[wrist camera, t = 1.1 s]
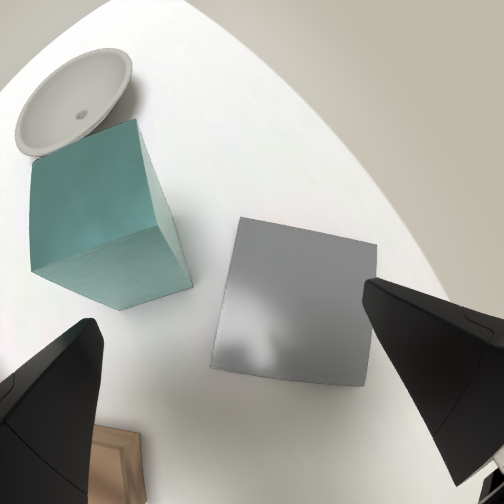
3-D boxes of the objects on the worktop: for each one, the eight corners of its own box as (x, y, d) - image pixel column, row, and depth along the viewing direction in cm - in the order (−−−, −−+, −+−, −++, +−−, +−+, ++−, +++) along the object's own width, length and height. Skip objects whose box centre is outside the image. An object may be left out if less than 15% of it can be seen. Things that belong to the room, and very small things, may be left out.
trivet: (359, 385, 21) (364, 386, 20) (210, 366, 21) (210, 367, 20) (372, 248, 25) (377, 244, 24) (239, 221, 25) (240, 216, 24)
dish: (121, 175, 26) (104, 144, 21) (17, 187, 25) (-6, 165, 20) (153, 69, 31) (147, 39, 27) (63, 85, 30) (52, 61, 26)
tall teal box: (193, 286, 23) (157, 224, 11) (119, 310, 22) (31, 271, 10) (172, 216, 25) (135, 118, 13) (104, 239, 23) (32, 162, 12)
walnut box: (148, 503, 16) (132, 531, 11) (83, 486, 16) (57, 507, 11) (141, 431, 19) (119, 450, 14) (73, 417, 18) (41, 428, 13)
